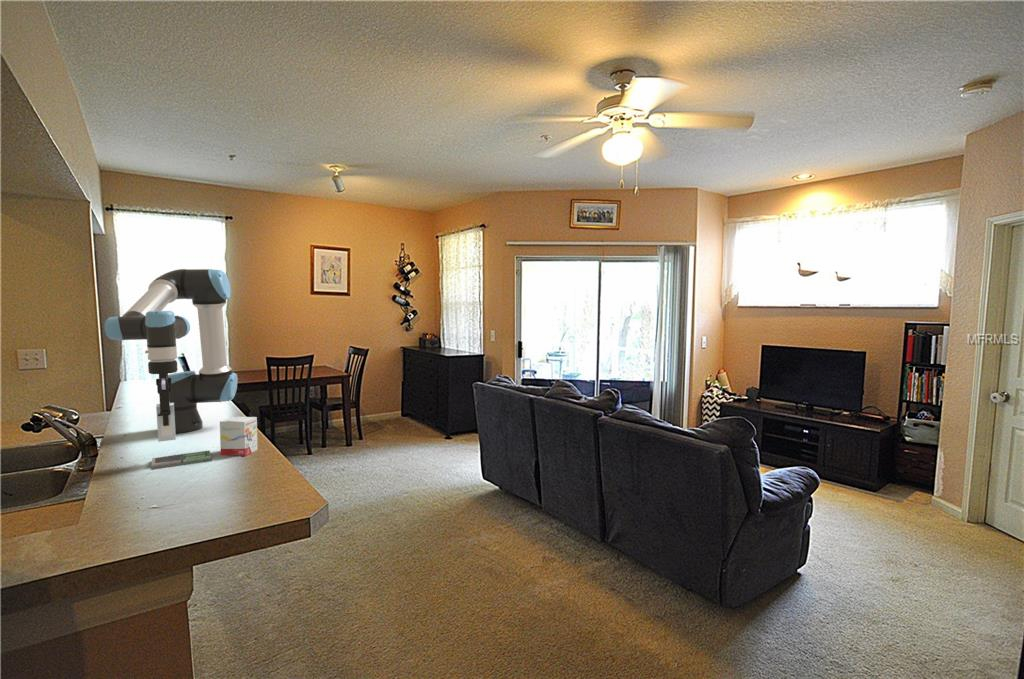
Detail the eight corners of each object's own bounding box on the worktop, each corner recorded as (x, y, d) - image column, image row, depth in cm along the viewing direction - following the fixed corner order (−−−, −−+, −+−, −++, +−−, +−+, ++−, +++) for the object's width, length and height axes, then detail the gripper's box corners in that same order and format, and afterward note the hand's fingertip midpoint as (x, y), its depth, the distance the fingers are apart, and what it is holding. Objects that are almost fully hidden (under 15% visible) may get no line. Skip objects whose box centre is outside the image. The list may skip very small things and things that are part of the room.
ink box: (245, 456, 170) (244, 421, 169) (219, 456, 170) (218, 421, 169) (258, 449, 178) (257, 415, 178) (234, 449, 179) (233, 415, 178)
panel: (152, 460, 166) (152, 456, 165) (209, 452, 174) (209, 448, 174) (150, 471, 155) (150, 466, 155) (212, 462, 163) (211, 457, 163)
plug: (158, 438, 163) (156, 401, 162) (175, 436, 165) (173, 400, 165) (158, 441, 159) (156, 404, 158) (175, 439, 162) (173, 402, 161)
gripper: (149, 358, 166) (153, 429, 168) (146, 364, 151) (151, 442, 153) (176, 356, 170) (180, 426, 172) (176, 362, 155) (181, 438, 157)
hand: (166, 433), depth 162 cm, fingers closed on plug, 4 cm apart
